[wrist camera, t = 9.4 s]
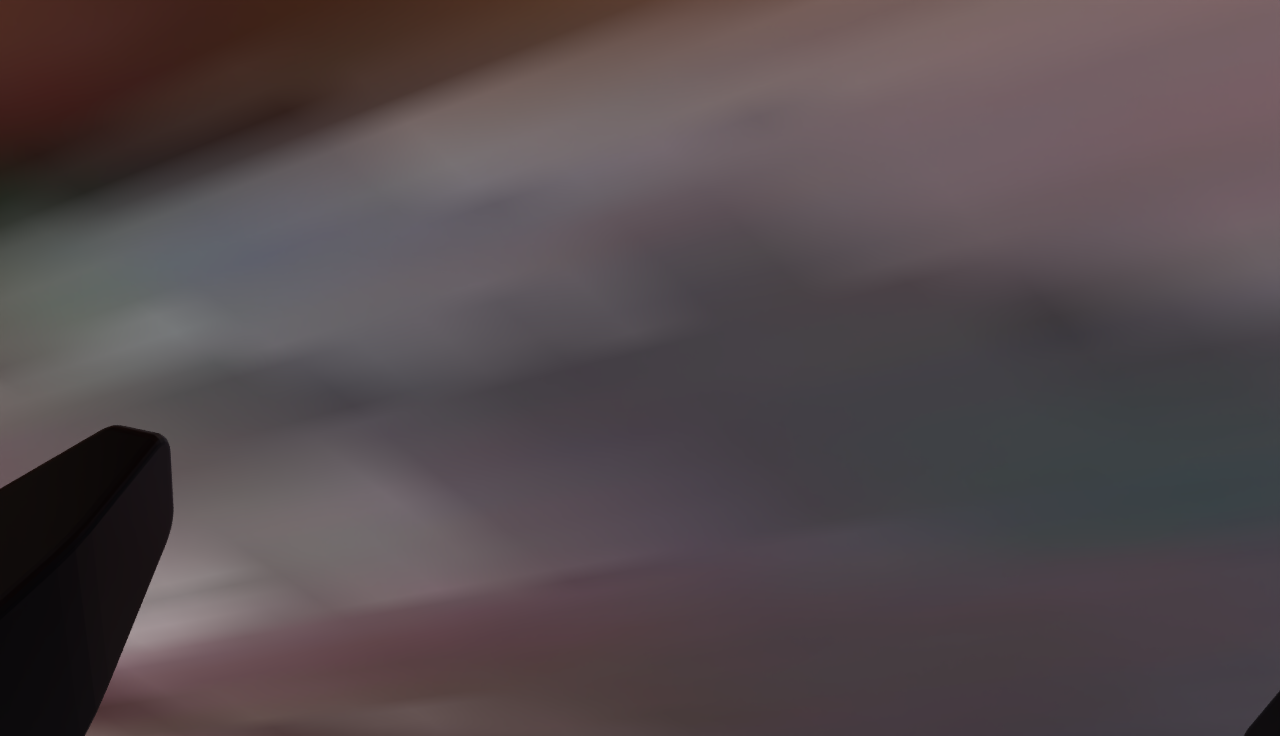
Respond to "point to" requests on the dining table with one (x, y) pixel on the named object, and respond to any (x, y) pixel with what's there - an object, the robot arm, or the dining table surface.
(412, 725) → the dining table surface
